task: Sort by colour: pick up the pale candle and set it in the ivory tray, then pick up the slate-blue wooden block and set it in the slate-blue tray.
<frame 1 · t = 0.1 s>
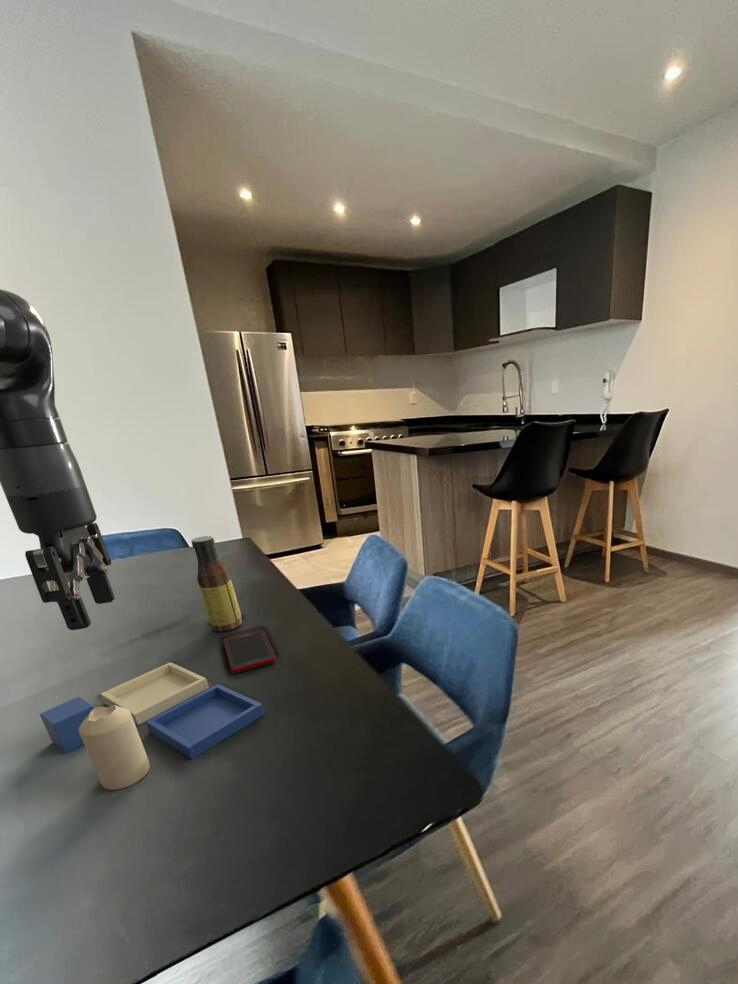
hand: (93, 614, 63), 20 cm above the table, tool pointing down, fingers open, 8 cm apart
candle: (127, 776, 64), on the table
sauce bottle: (227, 627, 106), on the table
cell phone: (249, 653, 94), on the table
blue tray: (207, 723, 74), on the table
ivory tray: (157, 695, 82), on the table
blue block: (78, 738, 72), on the table
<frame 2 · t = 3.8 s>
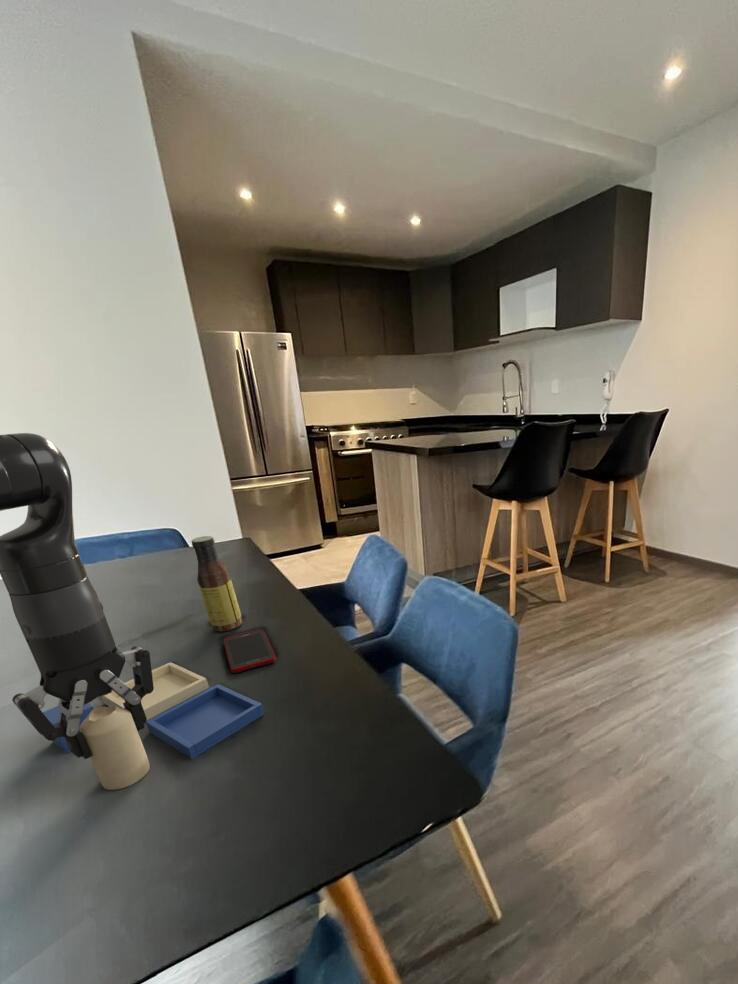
hand: (112, 740, 62), 6 cm above the table, tool pointing down, fingers closed on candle, 5 cm apart
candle: (127, 776, 64), on the table, touching gripper
everything else where it was.
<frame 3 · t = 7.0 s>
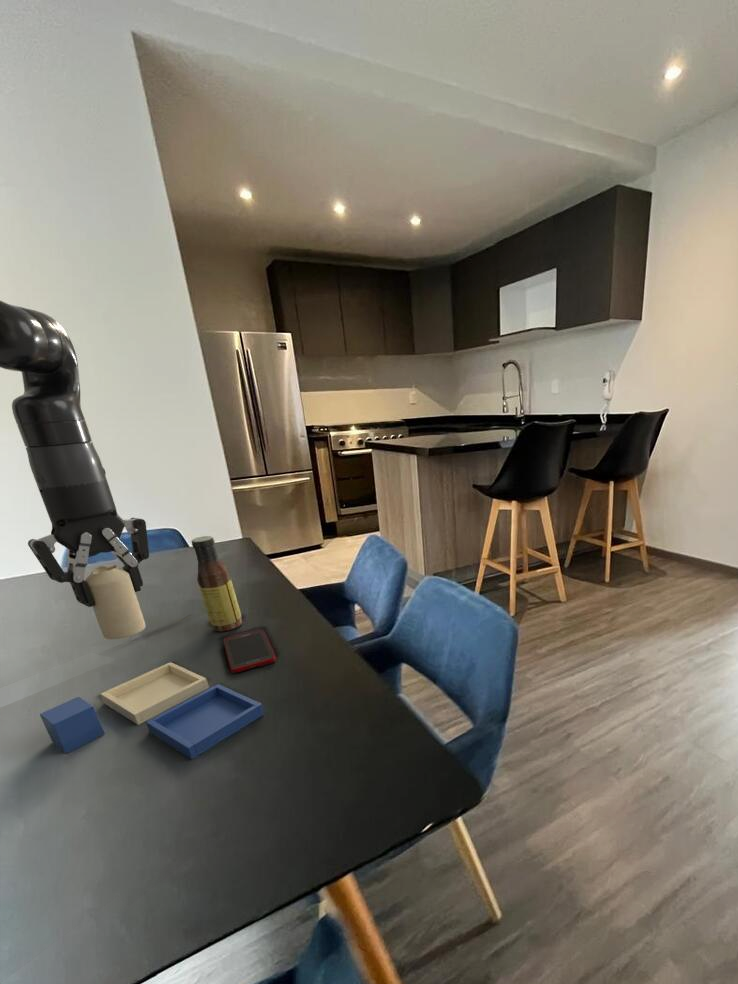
hand: (113, 597, 71), 19 cm above the table, tool pointing down, fingers closed on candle, 5 cm apart
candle: (125, 632, 73), point 13 cm above the table, touching gripper
everything else where it was.
when the fingers open (6 cm above the table, at t = 10.7 s): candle stays where it is, resting on ivory tray.
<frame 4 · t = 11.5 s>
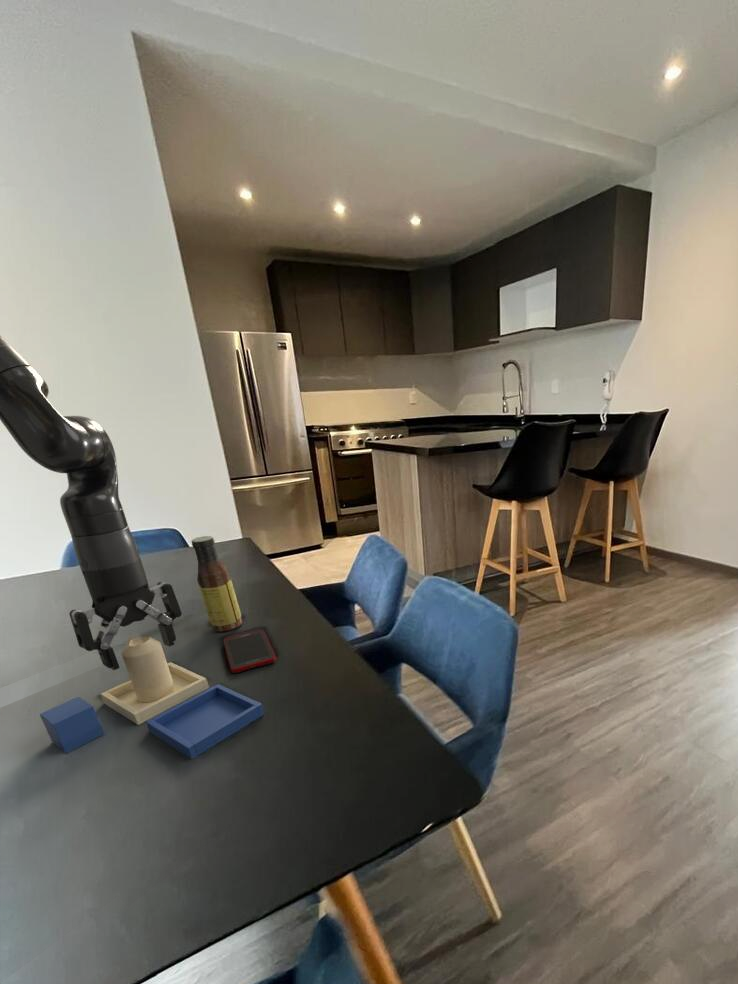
hand: (142, 656, 79), 8 cm above the table, tool pointing down, fingers open, 8 cm apart
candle: (157, 694, 82), resting on ivory tray
everything else where it was.
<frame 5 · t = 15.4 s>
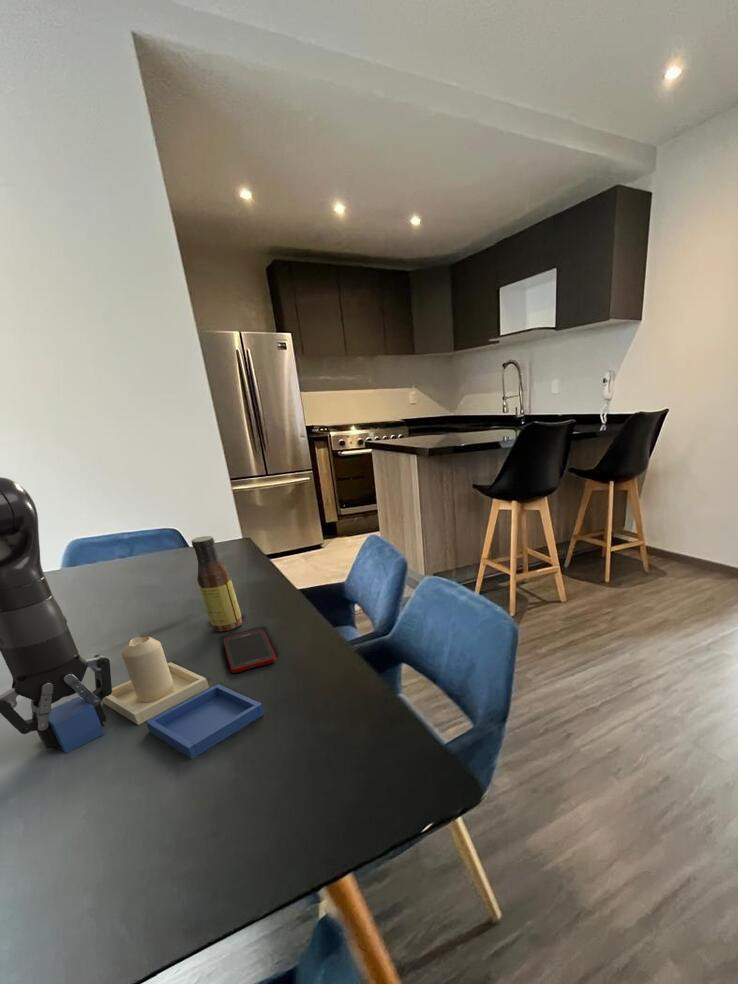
hand: (77, 735, 72), 0 cm above the table, tool pointing down, fingers closed on blue block, 5 cm apart
blue block: (78, 738, 72), on the table, touching gripper
everything else where it was.
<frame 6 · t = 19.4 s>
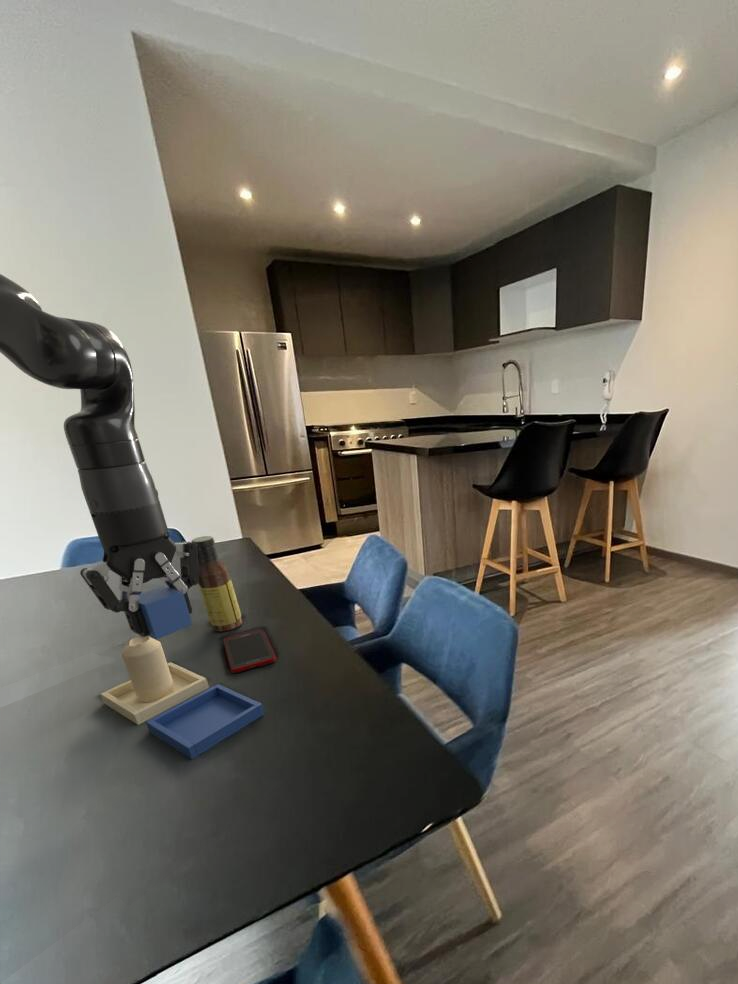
hand: (164, 625, 67), 16 cm above the table, tool pointing down, fingers closed on blue block, 5 cm apart
blue block: (165, 628, 67), point 16 cm above the table, touching gripper
everything else where it was.
when the fingers open (1 cm above the table, at t = 23.3 s): blue block stays where it is, resting on blue tray.
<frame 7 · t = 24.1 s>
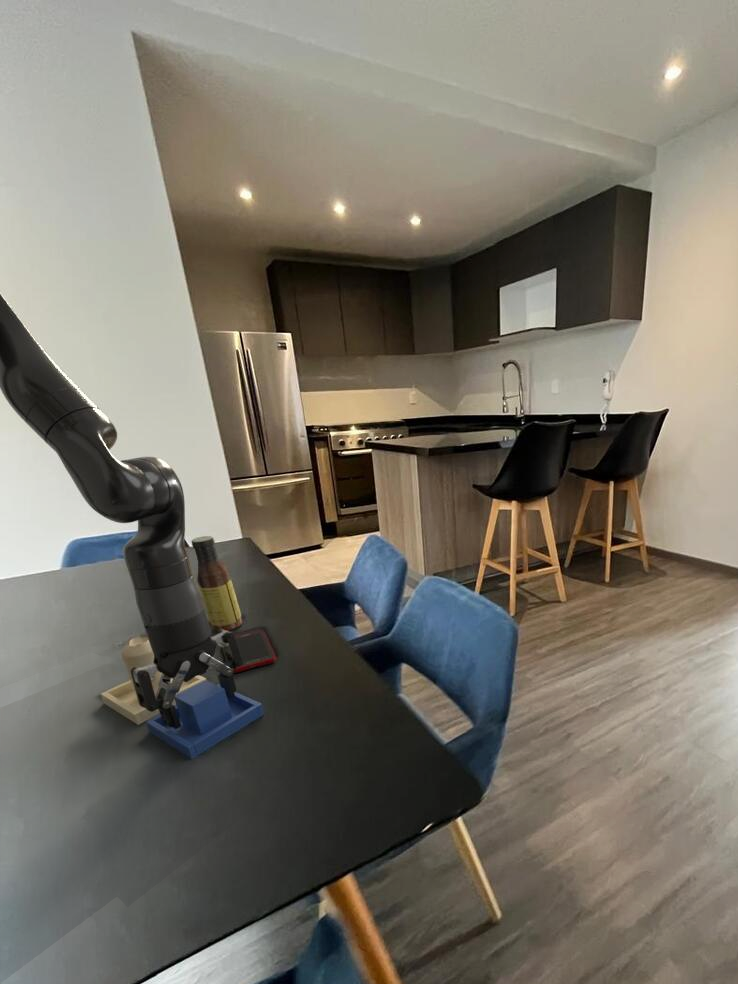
hand: (203, 710, 73), 2 cm above the table, tool pointing down, fingers open, 8 cm apart
blue block: (207, 720, 74), resting on blue tray
everything else where it was.
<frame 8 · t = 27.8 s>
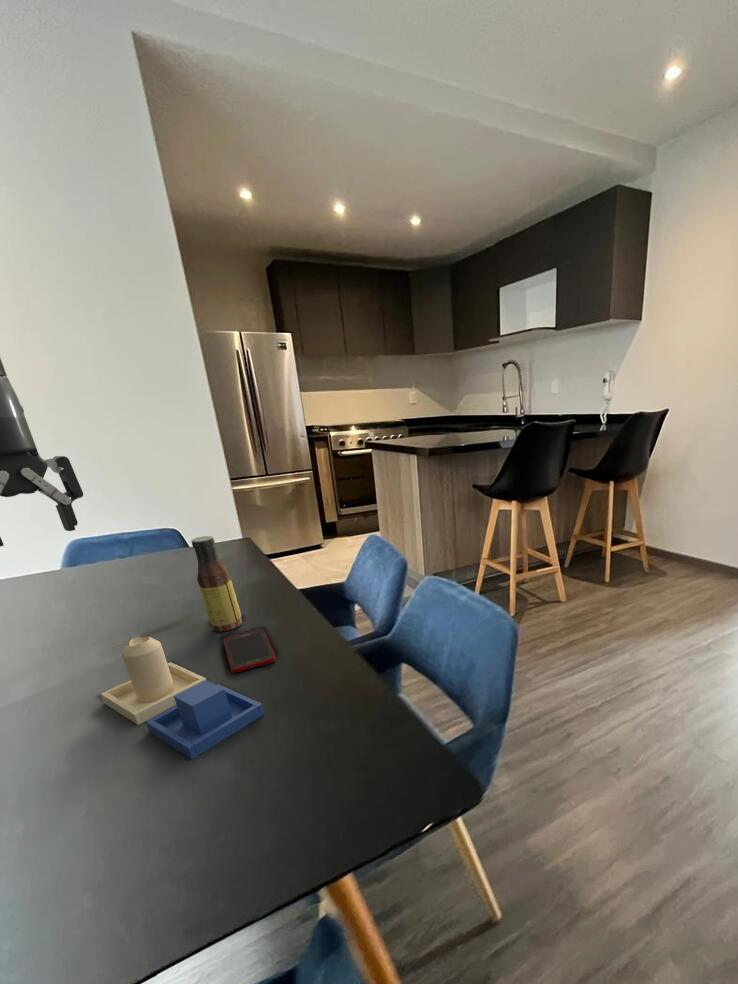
hand: (35, 537, 70), 28 cm above the table, tool pointing down, fingers open, 8 cm apart
nothing on the table moved.
at the end: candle 0.0 cm off-centre in the ivory tray, point 0.2 cm above the ivory tray's base; blue block 0.1 cm off-centre in the blue tray, point 0.4 cm above the blue tray's base; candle tilted 0° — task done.
